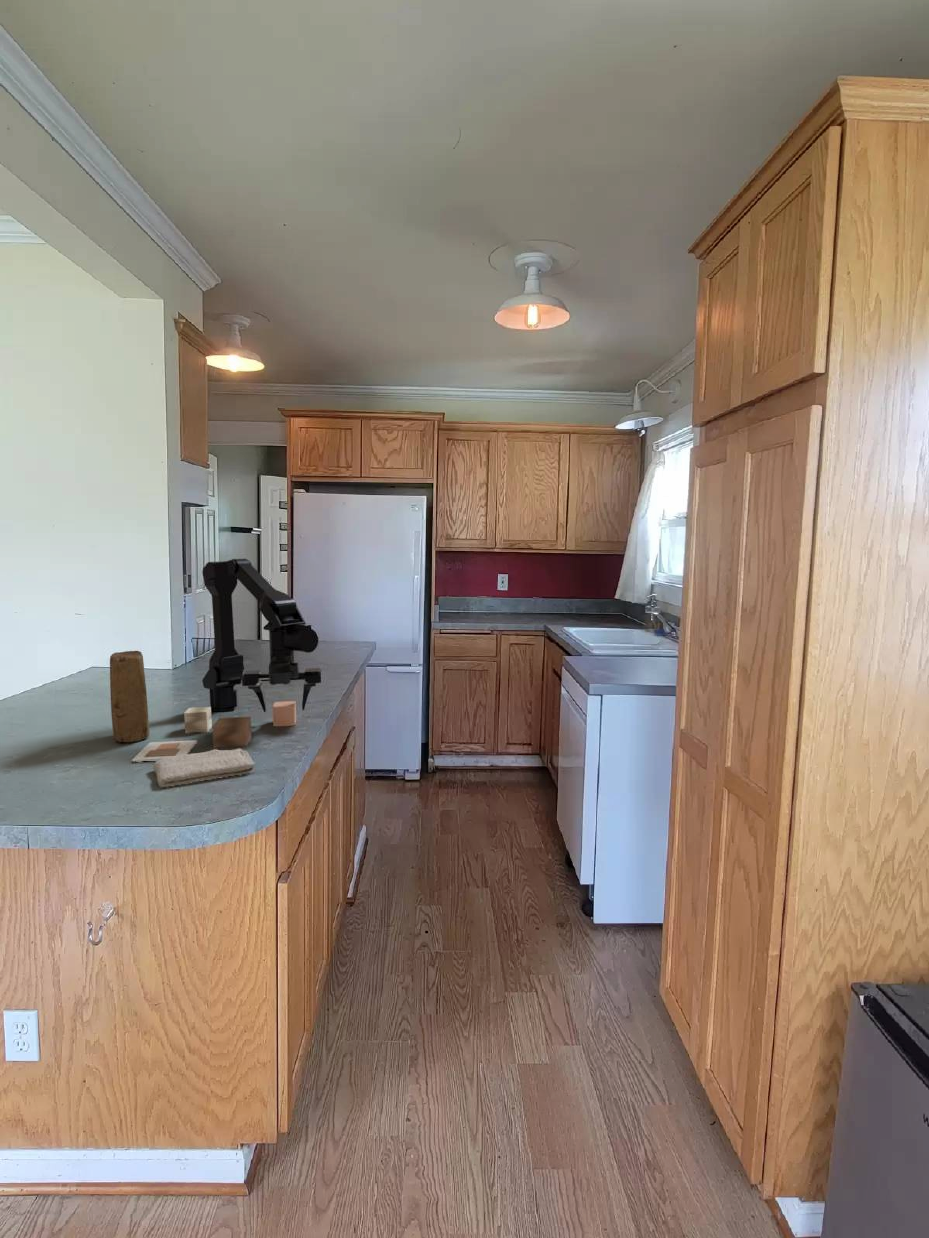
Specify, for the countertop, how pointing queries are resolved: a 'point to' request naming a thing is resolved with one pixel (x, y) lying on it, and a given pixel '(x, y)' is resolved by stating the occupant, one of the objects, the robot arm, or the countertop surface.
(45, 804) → the countertop surface
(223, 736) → the walnut block
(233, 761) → the washcloth
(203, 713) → the ash cube
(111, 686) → the block
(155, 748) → the card
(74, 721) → the countertop surface
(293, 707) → the terracotta cube
